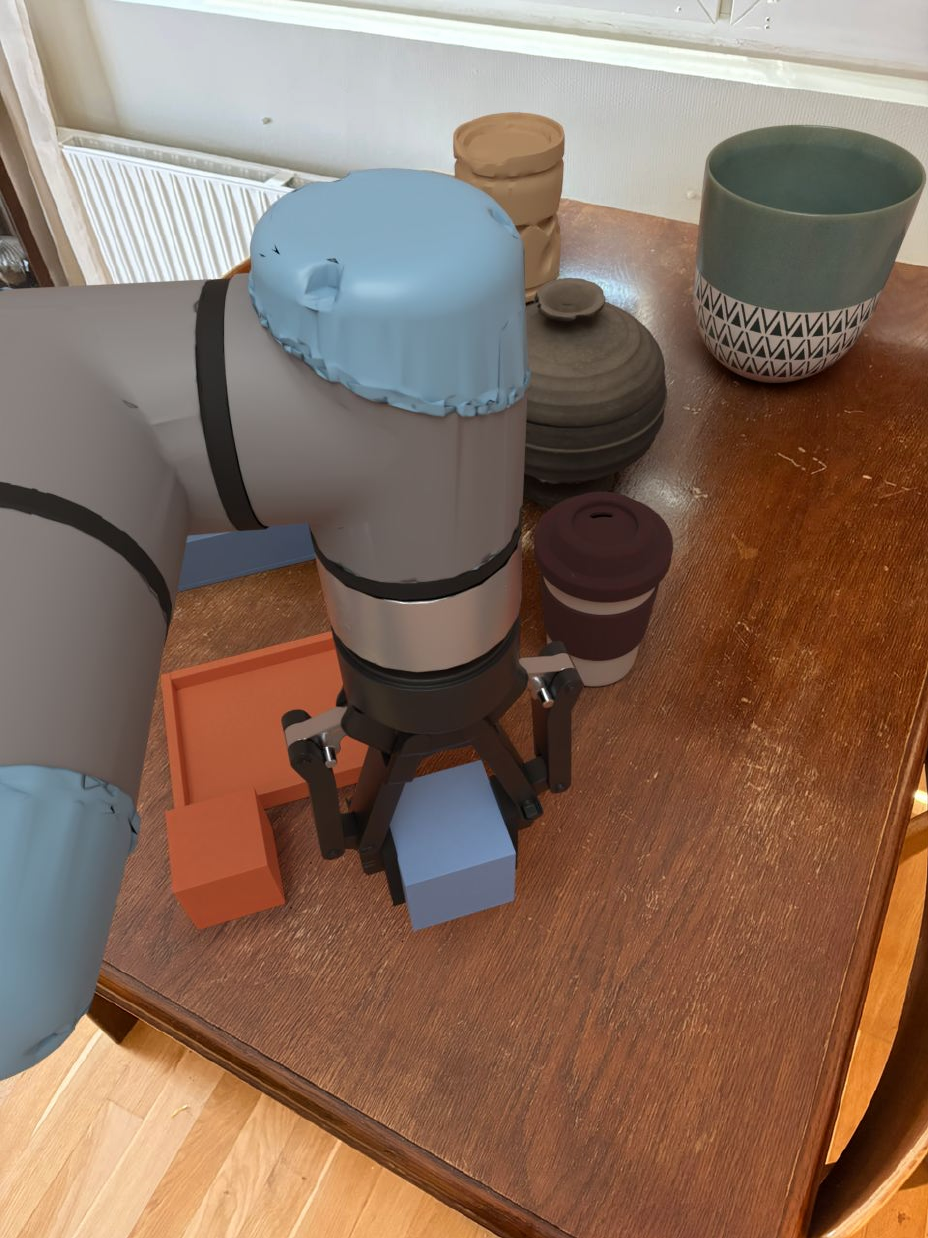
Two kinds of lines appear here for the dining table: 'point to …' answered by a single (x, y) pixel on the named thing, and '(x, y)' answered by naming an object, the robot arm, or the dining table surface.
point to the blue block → (452, 846)
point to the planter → (798, 244)
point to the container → (519, 181)
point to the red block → (223, 858)
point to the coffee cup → (600, 579)
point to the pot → (587, 392)
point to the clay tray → (251, 721)
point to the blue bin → (243, 553)
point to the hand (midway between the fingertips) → (449, 866)
